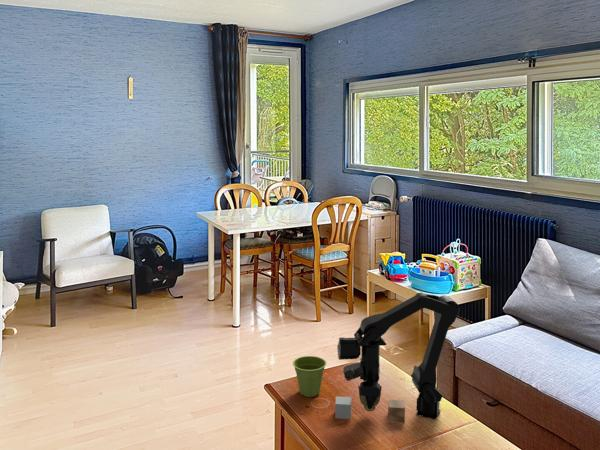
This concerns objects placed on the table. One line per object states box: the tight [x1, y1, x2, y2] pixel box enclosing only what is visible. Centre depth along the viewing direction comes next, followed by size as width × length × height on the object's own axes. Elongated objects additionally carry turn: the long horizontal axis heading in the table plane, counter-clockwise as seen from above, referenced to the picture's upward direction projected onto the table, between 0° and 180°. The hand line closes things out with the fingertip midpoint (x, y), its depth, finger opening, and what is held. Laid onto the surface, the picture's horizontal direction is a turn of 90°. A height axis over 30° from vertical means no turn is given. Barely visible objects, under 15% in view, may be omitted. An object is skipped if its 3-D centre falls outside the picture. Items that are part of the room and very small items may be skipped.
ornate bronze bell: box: [357, 381, 383, 412], centre depth 170 cm, size 8×7×8 cm
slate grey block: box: [334, 396, 352, 420], centre depth 172 cm, size 5×5×5 cm
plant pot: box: [292, 355, 327, 398], centre depth 186 cm, size 12×12×11 cm
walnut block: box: [387, 399, 406, 423], centre depth 169 cm, size 5×5×5 cm
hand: (369, 403), depth 170 cm, fingers closed on ornate bronze bell, 6 cm apart
